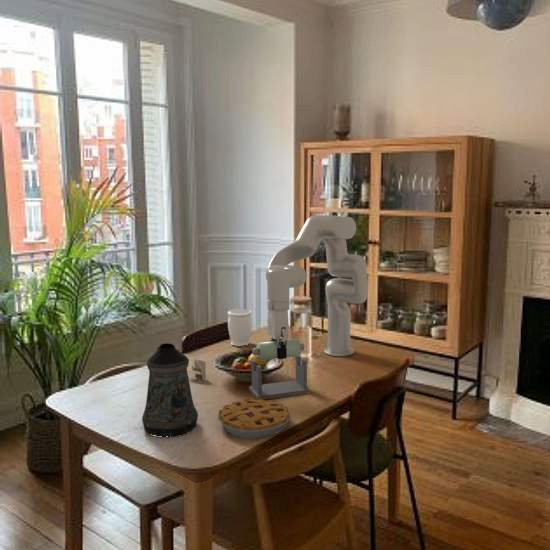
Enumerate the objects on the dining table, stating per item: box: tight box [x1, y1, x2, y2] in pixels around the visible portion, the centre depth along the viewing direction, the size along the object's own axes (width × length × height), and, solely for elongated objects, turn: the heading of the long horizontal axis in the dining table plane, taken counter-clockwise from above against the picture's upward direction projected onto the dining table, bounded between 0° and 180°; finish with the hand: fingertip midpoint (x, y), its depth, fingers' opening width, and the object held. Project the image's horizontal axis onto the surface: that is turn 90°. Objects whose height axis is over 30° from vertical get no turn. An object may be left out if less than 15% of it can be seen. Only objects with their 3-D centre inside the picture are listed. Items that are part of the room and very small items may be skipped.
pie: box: [217, 398, 291, 439], centre depth 176 cm, size 22×22×5 cm
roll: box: [252, 338, 305, 361], centre depth 200 cm, size 6×18×6 cm, turn 109°
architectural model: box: [187, 358, 207, 381], centre depth 216 cm, size 3×7×7 cm, turn 53°
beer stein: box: [141, 342, 199, 438], centre depth 175 cm, size 16×19×25 cm
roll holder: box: [248, 354, 311, 400], centre depth 202 cm, size 10×19×11 cm, turn 109°
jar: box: [227, 308, 253, 347], centre depth 258 cm, size 11×10×15 cm
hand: (278, 355), depth 201 cm, fingers closed on roll, 6 cm apart
